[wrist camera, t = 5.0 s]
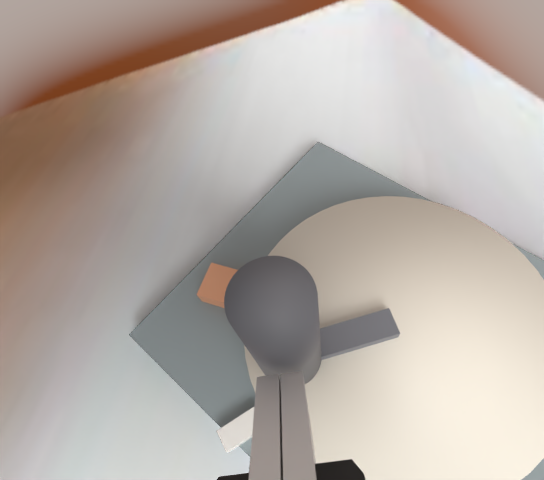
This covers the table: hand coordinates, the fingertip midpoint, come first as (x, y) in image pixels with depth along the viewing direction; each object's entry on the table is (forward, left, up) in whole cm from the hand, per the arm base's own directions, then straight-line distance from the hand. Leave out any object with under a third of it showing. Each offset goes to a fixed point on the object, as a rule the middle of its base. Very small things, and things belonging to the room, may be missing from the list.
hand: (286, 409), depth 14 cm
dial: (+1, +6, -5) cm, 8 cm away
